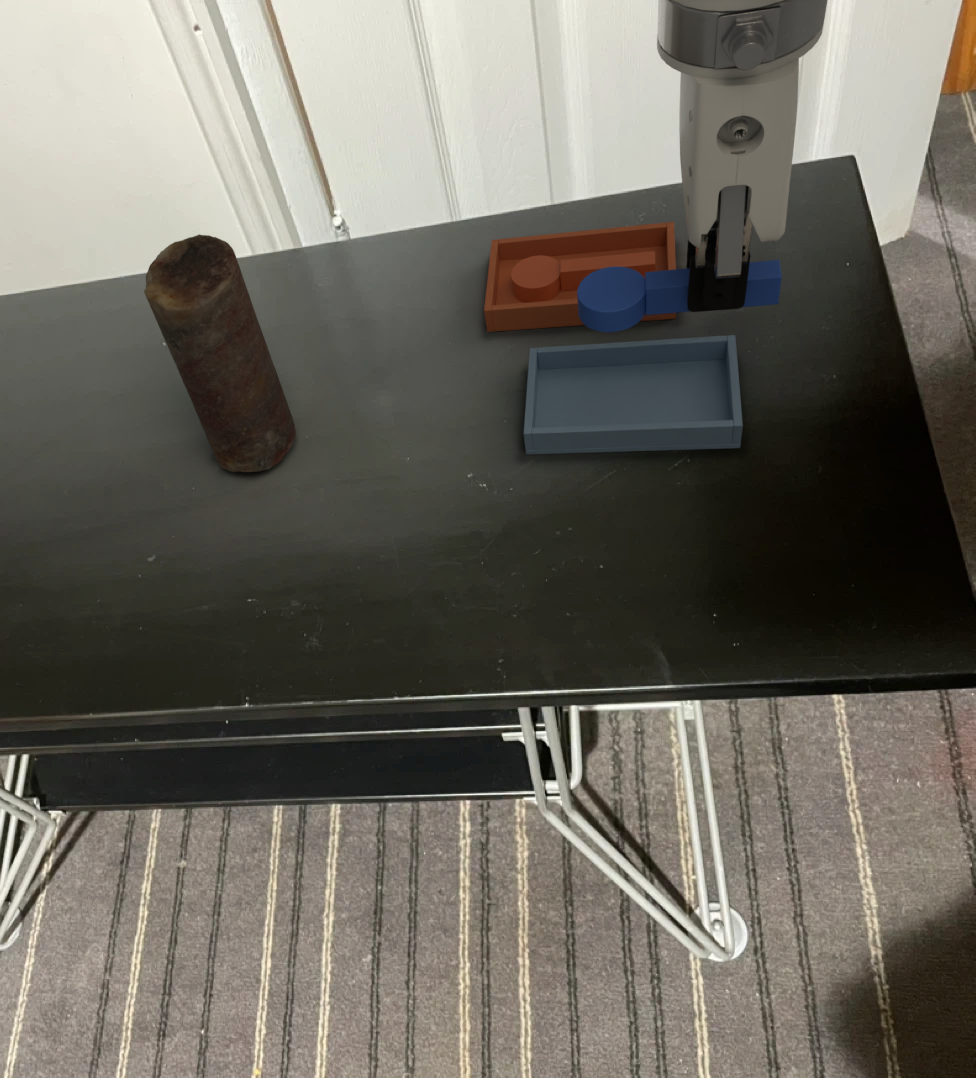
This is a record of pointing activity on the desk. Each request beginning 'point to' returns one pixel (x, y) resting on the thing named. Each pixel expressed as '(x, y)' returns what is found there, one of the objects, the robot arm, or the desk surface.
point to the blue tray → (634, 396)
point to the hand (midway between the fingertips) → (714, 292)
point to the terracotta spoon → (568, 273)
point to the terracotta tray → (563, 308)
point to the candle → (220, 352)
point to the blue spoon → (657, 294)
